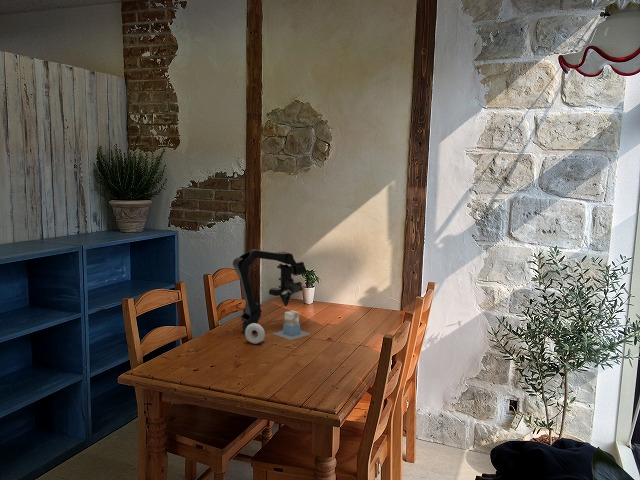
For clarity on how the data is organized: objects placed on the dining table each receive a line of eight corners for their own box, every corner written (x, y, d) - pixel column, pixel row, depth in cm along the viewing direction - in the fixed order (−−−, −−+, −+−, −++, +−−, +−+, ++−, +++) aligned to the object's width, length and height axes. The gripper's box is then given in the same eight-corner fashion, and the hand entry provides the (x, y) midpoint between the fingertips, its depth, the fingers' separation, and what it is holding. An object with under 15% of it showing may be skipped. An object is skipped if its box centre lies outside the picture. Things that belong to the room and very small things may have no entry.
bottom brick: (291, 336, 258) (291, 326, 257) (283, 333, 262) (283, 323, 261) (300, 333, 262) (300, 324, 261) (292, 331, 266) (292, 321, 265)
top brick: (291, 326, 258) (291, 314, 257) (284, 323, 261) (284, 312, 260) (298, 324, 261) (298, 312, 260) (292, 321, 265) (292, 310, 264)
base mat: (290, 342, 252) (290, 340, 252) (271, 335, 262) (271, 333, 262) (311, 335, 262) (311, 333, 262) (292, 329, 272) (292, 327, 272)
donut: (243, 343, 249) (243, 323, 248) (246, 341, 252) (246, 321, 251) (263, 345, 246) (263, 325, 245) (266, 343, 249) (266, 323, 248)
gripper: (283, 281, 258) (282, 312, 260) (309, 276, 271) (309, 305, 273) (268, 278, 266) (268, 308, 268) (295, 273, 279) (294, 301, 281)
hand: (285, 305), depth 272 cm, fingers closed
